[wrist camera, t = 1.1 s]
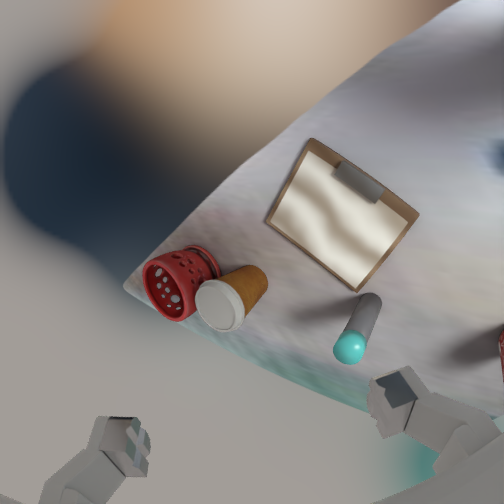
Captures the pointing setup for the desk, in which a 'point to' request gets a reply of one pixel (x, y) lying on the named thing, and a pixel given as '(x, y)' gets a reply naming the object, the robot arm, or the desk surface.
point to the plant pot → (179, 279)
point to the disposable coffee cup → (230, 297)
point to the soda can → (501, 350)
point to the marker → (358, 330)
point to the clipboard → (340, 215)
